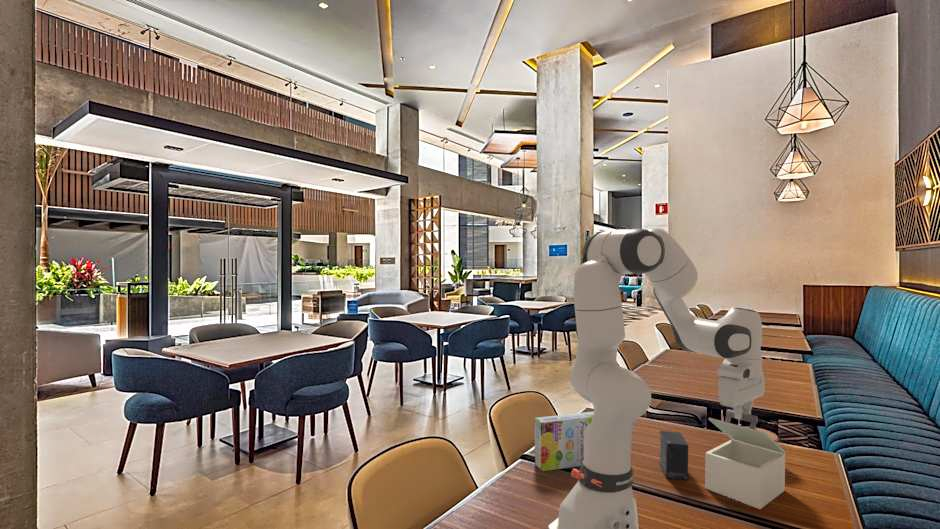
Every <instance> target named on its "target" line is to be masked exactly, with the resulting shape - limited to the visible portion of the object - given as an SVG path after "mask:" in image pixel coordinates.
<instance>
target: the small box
mask: <svg viewBox="0 0 940 529" xmlns="http://www.w3.org/2000/svg"><path fill="white" fill-rule="evenodd" d="M659 434H660V435H659V440H660V441H659V450H660V451H659V466H660V468H661V470H662V472H663V474H664V477H665V478H666V479H674V480H683V481H685V480H686V481H688V479H689V444H688V442H687V441H686V439H685V438H684V436H683V434H682V433H681V432H678V431H667V430H660V431H659Z"/></svg>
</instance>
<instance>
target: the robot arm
mask: <svg viewBox="0 0 940 529" xmlns="http://www.w3.org/2000/svg"><path fill="white" fill-rule="evenodd" d="M581 258H582V259H581V263H582V264H580V265H579V266H578V267H577V268H576V269H575V271H574V278H573V304H574V305H573V306H574V313H575V314H574V316H575V324H576V325H575V326H576V335H577V345H576V346H577V347H576V355H575V360H574V362H573V363H572V365H571V367H570V368H569V370H568V372H569V373H568V380H569V384H570V385H571V388H573V390H574V391H575V392H576V393H577V394H578V396H580V397H581V398H582V399H584V400H586V401H588V402H589V403H590V404H592V406H593V412H594V415H593V419H592V422H591V424H590V425H589V426H587V427H586V429H585V430H584V434H583V435H584V460H583V462H582V465H581V466H580V468H579V469H577V468H576V467H573V469H572V471H571V473H570V475H571V477H572V478H574V479H576V480H577V482H576V483H575V484H574V486H573V487H572V489H571V490H570V491H569V493H567V495H566V497H565V498H564V499H563V500H562V502H561V503H560V504H559V510H558V517H557V518H556V519H554V521H552V522H550V523H549V524H548V526H547V529H640V528H639V518H638V507H637V501H636V498H635V497H636V496H635V495H634V492H633V487H632V486H633V483H634V473H633V472H634V471H633V469H634V468H633V466H632V463H631V461H632V459H631V458H632V457H631V455H632V438H633V437H632V436H633V431H634V428H635V426H636V423H637V421H638V419H639V418H641V417H642V416H643V415H645V414H646V412H647V411H648V409H649V408H650V406H651V401H652V393H651V392H652V391H651V388H650V386H649V384H648V383H647V382H646V381H645V380H644V379H643V378H641V377H640V376H639V375H638V374H637V373H636V372H634V371H632V370H630V369H627V368H625V367H623V366H619V365H618V364H619V363H618V361H617V355H618V349H619V346H620V344H622V343H623V341H624V340H625V336H626V332H625V321H624V310H623V304H622V297H621V296H622V295H621V291H620V290H621V289H620V284H621V279H622V277H623V275H634V274H635V275H642V274H645V276H646V277H647V279H648V281H650V283H651V286H652V287H653V288H652V290H653V295H654V297H655V299H656V301H657V303H658V305H659V307H660V308H661V310H662V312H663V314H664V316H665V317H666V319H667V321H668V322H669V325H670V326H671V329H672V331H673V335H674V338H675V341H676V344H677V345H678V347H679V348H680V349H682V350H683V351H684V352H688V353H696V354H702V355H705V356H711V357H715V358H716V357H717V358H719V359H723V361H722V363H721V364H720V365H719V366H718V367H717V370H716V374H717V375H718V376H719V378H718V382H717V383H718V384H717V388H718V390H717V392H718V393H717V394H718V401H719V404H720V405H721V406H724V407H727V408H728V407H729V408H732V410H734V417H735V418H734V419H736V420H741V419H743V418H744V413H746V414H750V415H752V409H753V408H752V407H753V405H754V400H756V399H758V398H761V397H763V396H764V395H765V392H766V381H765V374H764V371H763V355H762V351H761V349H762V348H761V347H762V345H763V324H762V319H761V315H760V313H759V312H757V311H756V310H754V309H750V308H743V307H729V308H728V310H727V312H726V314H725V315H724V316H722V317H720V318H719V319H717V320H715V319H714V320H713V319H707V318H706V319H705V318H701V317H699V316H696V315H694V314H692V313H691V312H690V310H689V308H688V306H687V305H686V303H685V300H684V299H683V298H684V297H685V296H687V295H688V294H689V293H690V292H691V291H692V290H694V287H695V286H696V284H697V281H698V278H699V277H698V276H699V275H698V271H697V268H696V266H695V264H694V263H693V260H692V259H691V258H690V257H689V255H688V254H687V252H686V251H685V250H684V249H683V248H682V246H681V245H680V244H679V243H678V242H677V241H676V239H675V238H673V236H671V234H669V233H668V231H665V229H662V228H660V227H659V228H658V227H657V228H654V227H653V228H650V229H645V228H632V229H631V228H625V229H624V228H615V229H609V230H602V231H601V230H600V231H598V232H596V233H593V234H592V235H591V236H589V237H588V238H587V239H586V240H585V243H584V246H583V250H582V257H581ZM741 421H742V420H741Z"/></svg>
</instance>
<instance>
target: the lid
mask: <svg viewBox="0 0 940 529" xmlns="http://www.w3.org/2000/svg"><path fill="white" fill-rule="evenodd" d="M725 415H726V416H725V419H724V421H723V420H719V419H715V418H713V417H708V419H707V420H708V421H710V423H712V424H713V425H714V426H715V427H716V428H718V430H720V431H721V432H723V433H724V434H725V435H726V436H727V437H729V438H730V440H731V439H734V440H737V441H741V442H744V443H748V444H751V445H755V446H758V447H762V448H765V449H769V450H772V451H776V452H778V453H781V454H785V455H786V454H787V452H786V451H785V450H784V448H782V447H781V446H780V445H779V443H778V444H777V443H776V442H775V441H774V440H773V439H772V438H771V437H770V436H768V435H767V434H766V433H765V432H762V431H758V430H755V427H756V426H757V424H758V421H759V417H758V416H757V415H753V414H751V415H750V414H746V413H744V418H743V419H741V421H744V422H748V423H750V424H749V426H742V425H740V424H739V425H738V424H735V423H731V420H732V418H733V419H736V418H735V417H734V410H733V409H729V408H728V409H726V412H725ZM747 427H749V428H747Z"/></svg>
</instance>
